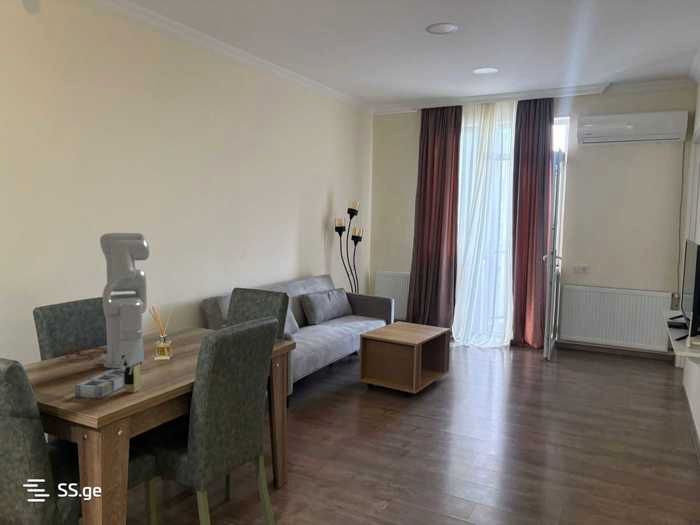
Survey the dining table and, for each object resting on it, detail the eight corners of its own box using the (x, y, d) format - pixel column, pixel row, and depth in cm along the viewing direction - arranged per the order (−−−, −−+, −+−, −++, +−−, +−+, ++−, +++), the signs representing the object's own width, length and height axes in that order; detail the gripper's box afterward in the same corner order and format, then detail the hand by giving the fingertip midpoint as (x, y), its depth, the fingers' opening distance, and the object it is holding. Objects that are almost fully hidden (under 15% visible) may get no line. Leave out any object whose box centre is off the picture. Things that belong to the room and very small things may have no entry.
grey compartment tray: (75, 397, 191) (74, 385, 191) (113, 379, 213) (112, 368, 213) (99, 399, 190) (99, 387, 189) (135, 381, 211) (135, 370, 211)
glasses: (81, 352, 257) (81, 342, 257) (107, 353, 257) (107, 342, 256) (66, 359, 244) (65, 349, 244) (93, 360, 244) (93, 349, 243)
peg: (124, 391, 198) (124, 365, 197) (131, 388, 202) (130, 362, 201) (134, 392, 197) (133, 366, 196) (140, 389, 201) (140, 363, 200)
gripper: (135, 329, 206) (136, 375, 208) (108, 339, 190) (109, 388, 192) (152, 330, 205) (153, 376, 207) (127, 340, 189) (128, 390, 190)
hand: (132, 381), depth 199 cm, fingers closed on peg, 4 cm apart
